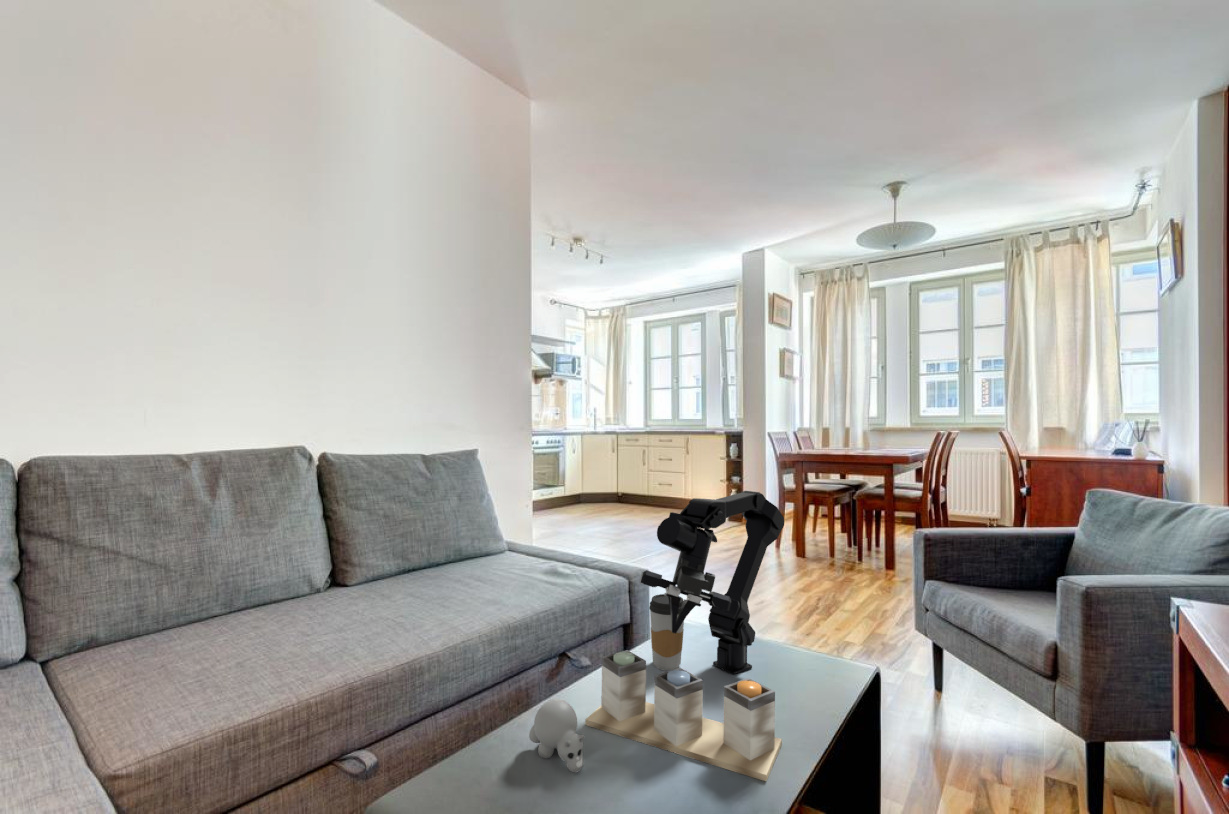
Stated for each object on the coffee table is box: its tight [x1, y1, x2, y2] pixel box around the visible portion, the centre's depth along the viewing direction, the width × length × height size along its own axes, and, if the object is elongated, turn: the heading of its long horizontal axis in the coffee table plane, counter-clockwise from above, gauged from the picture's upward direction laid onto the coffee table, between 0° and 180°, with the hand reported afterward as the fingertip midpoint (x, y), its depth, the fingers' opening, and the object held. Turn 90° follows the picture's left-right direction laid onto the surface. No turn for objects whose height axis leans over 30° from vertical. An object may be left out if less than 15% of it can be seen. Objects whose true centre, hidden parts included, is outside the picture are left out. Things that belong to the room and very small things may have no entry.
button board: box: [584, 649, 783, 782], centre depth 102 cm, size 11×33×11 cm, turn 62°
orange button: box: [737, 680, 762, 699], centre depth 97 cm, size 4×4×2 cm
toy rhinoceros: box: [528, 698, 585, 773], centre depth 94 cm, size 7×12×8 cm, turn 36°
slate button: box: [667, 670, 690, 687], centre depth 100 cm, size 4×4×2 cm
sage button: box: [613, 651, 635, 666], centre depth 108 cm, size 4×4×2 cm
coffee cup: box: [649, 593, 685, 671], centre depth 130 cm, size 8×8×15 cm
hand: (673, 633), depth 115 cm, fingers closed
